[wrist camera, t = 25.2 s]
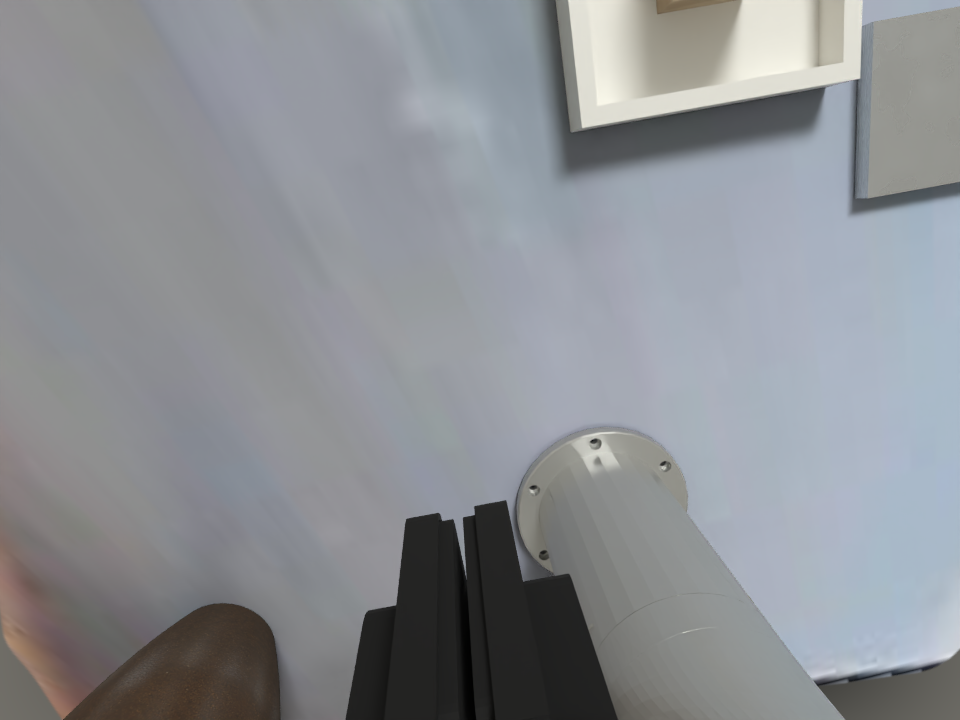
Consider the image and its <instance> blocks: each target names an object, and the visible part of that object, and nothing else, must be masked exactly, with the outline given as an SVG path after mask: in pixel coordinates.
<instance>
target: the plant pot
mask: <svg viewBox="0 0 960 720" xmlns="http://www.w3.org/2000/svg"><path fill="white" fill-rule="evenodd" d="M63 720H280V687H279V673H278V663H277V654H276V647H275V641H274V636H273V633H272V631H271V629H270V627H269V626H268V624H267V623H266V622H265V620H263V619H262V618H261V617H260V616H259V615H258V614H256V613H255V612H253V611H251V610H249V609H247V608H245V607H242V606H239V605H234V604H225V603H220V604H212V605H207V606H204V607H201V608H199V609H197V610H195V611H193V612H191V613H190V614H188V615H187V616H185V617H184V618H182V619H181V620H180V621H178V622H177V623H175V624H174V625H172V626H171V627H170V628H168V629H167V630H165V631H164V632H163V633H161V634H160V635H159V636H157V637H156V638H155V639H153V640H152V641H151V642H150V643H148V644H147V645H146V646H145V647H143V648H142V649H141V650H140V651H138V652H137V653H136V654H135V655H133V656H132V657H131V658H130V659H129V660H127V661H126V662H125V663H124V664H123V665H122V666H120V667H119V668H118V669H117V670H116V671H115V672H114V673H112V674H111V675H110V676H109V677H108V678H107V679H106V680H105V681H103V682H102V683H101V684H100V685H99V686H98V687H97V688H96V689H95V690H94V691H93V692H92V693H90V694H89V695H88V696H87V697H86V698H85V699H84V700H83V701H82V702H81V703H80V704H79V705H78V706H77V707H76V708H75V709H74V710H73V711H72V712H70V713H69V714H68V715H67V716H66V717H65V718H64V719H63Z"/></svg>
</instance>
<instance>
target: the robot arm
mask: <svg viewBox="0 0 960 720" xmlns="http://www.w3.org/2000/svg"><path fill="white" fill-rule="evenodd" d="M594 438H596V439H595V440H594V441H591V440H592V439H594ZM661 462H662V463H661ZM532 485H535V486H534V487H530V486H532ZM687 507H688V493H687V487H686V482H685V479H684V477H683V474H682V472H681V470H680V468H679V466H678V465H677V463H676V462H675V461H674V459H673V458H672V456H671V455H670V454H669V453H668V452H667V451H666V450H665V449H664V448H663V447H662V446H661V445H660V444H658V443H657V442H655V441H654V440H653V439H651V438H650V437H648V436H645V435H643V434H641V433H639V432H636V431H633V430H628V429H624V428H616V427H600V428H593V429H586V430H583V431H580V432H577V433H574V434H571V435H569V436H567V437H565V438H563V439H561V440H559V441H558V442H556V443H554V444H553V445H552V446H551V447H549V448H548V449H547V450H545V451H544V452H543V453H542V454H541V455H540V456H539V457H538V458H537V459H536V460H535V462H534V463H533V464H532V465H531V467H530V468H529V470H528V472H527V473H526V475H525V476H524V478H523V481H522V484H521V486H520V489H519V492H518V498H517V505H516V511H517V522H518V526H519V531H520V535H521V537H522V539H523V542H524V544H525V547H526V548H527V549H528V551H529V552H530V554H531V555H532V557H533V558H534V559H535V560H536V561H537V562H538V563H539V564H540V565H542V566H543V567H544V568H545V569H547V570H549V571H550V572H552V573H553V574H554V575H555V576H552V577H547V578H541V579H536V580H530V581H525V582H523V580H522V575H521V570H520V565H519V561H518V556H517V551H516V546H515V541H514V536H513V531H512V526H511V521H510V516H509V511H508V506H507V502H506V500H505V501H500V502H495V503H489V504H484V505H478V506H475V507H474V509H475V515H473V516H468V517H463V527H464V543H465V559H466V574H467V579H466V575H465V570H464V565H463V560H462V556H461V551H460V546H459V542H458V537H457V532H456V528H455V523H454V520H453V519H452V520H446V521H442V519H441V516H440V514H439V513H435V514H430V515H424V516H419V517H413V518H408V519H406V523H405V531H404V541H403V550H402V559H401V568H400V578H399V587H398V596H397V605H396V606H391V607H386V608H380V609H375V610H369V611H368V612H367V613H366V614H365V618H364V621H363V626H362V632H361V637H360V643H359V648H358V654H357V659H356V665H355V670H354V676H353V682H352V687H351V693H350V698H349V704H348V709H347V715H346V720H845V719H844V718H843V717H842V715H841V714H840V713H839V712H838V711H837V709H836V708H835V707H834V706H833V705H832V703H831V702H830V701H829V700H828V699H827V697H826V696H825V695H824V694H823V693H822V692H821V690H820V689H819V688H818V686H817V685H816V684H815V683H814V681H813V680H812V679H811V678H810V676H809V675H808V674H807V672H806V671H805V670H804V669H803V667H802V666H801V665H800V664H799V662H798V661H797V660H796V658H795V657H794V656H793V655H792V653H791V652H790V651H789V649H788V648H787V647H786V645H785V644H784V643H783V641H782V640H781V639H780V637H779V636H778V635H777V633H776V632H775V631H774V629H773V628H772V627H771V625H770V624H769V623H768V621H767V620H766V619H765V617H764V616H763V615H762V613H761V612H760V610H759V609H758V608H757V607H756V605H755V604H754V602H753V601H752V600H751V598H750V597H749V596H748V594H747V593H746V592H745V590H744V589H743V588H742V586H741V585H740V584H739V582H738V581H737V580H736V578H735V577H734V576H733V574H732V573H731V572H730V570H729V569H728V568H727V566H726V565H725V564H724V562H723V561H722V560H721V558H720V557H719V556H718V554H717V553H716V551H715V550H714V549H713V547H712V546H711V545H710V543H709V542H708V541H707V539H706V538H705V537H704V535H703V534H702V533H701V531H700V530H699V529H698V527H697V526H696V525H695V523H694V522H693V521H692V519H691V518H690V517H689V515H688V514H687Z"/></svg>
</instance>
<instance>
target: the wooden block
mask: <svg viewBox="0 0 960 720" xmlns="http://www.w3.org/2000/svg"><path fill="white" fill-rule="evenodd" d="M731 1H736V0H656V7H657V14H662V13H668V12H673V11H679V10H685V9H690V8H696V7H702V6H708V5H713V4H719V3H725V2H731Z"/></svg>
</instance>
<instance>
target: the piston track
mask: <svg viewBox="0 0 960 720" xmlns="http://www.w3.org/2000/svg"><path fill="white" fill-rule="evenodd" d="M956 182H960V7H955V8H949V9H943V10H938V11H932V12H926V13H921V14H915V15H909V16H904V17H898V18H892V19H887V20H881V21H876V22H872V23H869V24H867V25H864V26H862V34H861V69H860V79H858V95H857V131H856V168H855V198H873V197H879V196H884V195H890V194H895V193H901V192H906V191H912V190H917V189H923V188H929V187H934V186H940V185H945V184H951V183H956Z"/></svg>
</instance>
